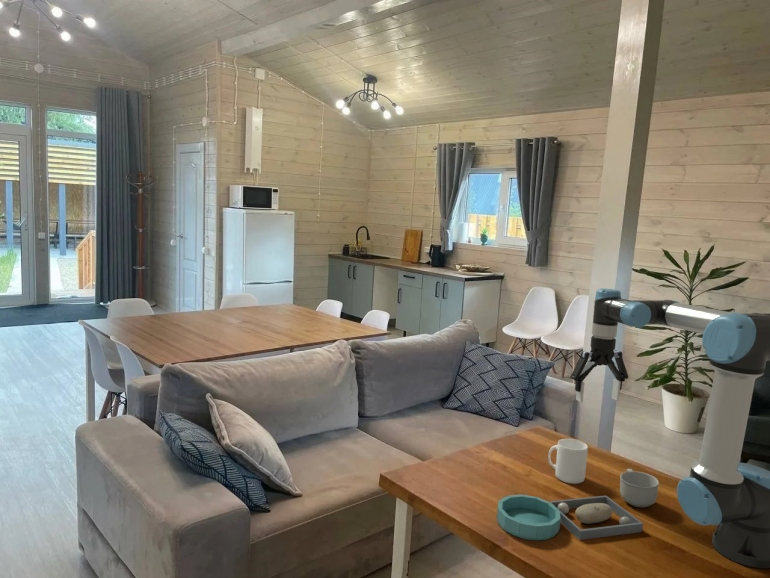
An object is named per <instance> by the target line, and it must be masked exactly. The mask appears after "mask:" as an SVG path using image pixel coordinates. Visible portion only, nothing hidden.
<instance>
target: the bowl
mask: <svg viewBox="0 0 770 578" xmlns="http://www.w3.org/2000/svg"><path fill="white" fill-rule="evenodd" d="M496 512H497V515H496V522H497V523H498V525H499V526H500V528H501V529H502V530H504V531H505V532H506V533H508V534H509V535H512V536H514V537H516V538H520V539H522V540H528V541H546V540H550V539H552V538H554V537H555V536H556V535H557V534H558V533H559V531H560V528H561V522H560V511H559V510H558V509H557V508H556V507H555V506H554V505H553V504H552V503H550V502H549V501H548V500H545V499H542V498H541V497H538V496H533V495H526V494H512V495H511V494H510V495H507V496H505V497H502V498H500V499H499V500H498V504H497V511H496Z"/></svg>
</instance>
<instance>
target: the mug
mask: <svg viewBox="0 0 770 578" xmlns="http://www.w3.org/2000/svg"><path fill="white" fill-rule="evenodd" d="M554 450H557V451H556V459H555V464H554V463H553V461H552V459H551V454H552V452H553V451H554ZM588 451H589V445H588V444H587V443H585V441H582V440H578V439H573V438H562V439H558V441H557V444H555V445H553V446H551V447H550V449H549V450H548V456H547V458H548V460H547V461H548V463H549V465H550V467H552V468H553V469H554V470H555V473H554V474H555V475H554V476H555V477H556V478H557V479H558V480H559V481H561V482H564V483H566V484H569V485H571V484H572V485H577V484H578V485H579V484H581V483H583V482H584V481H585V480H586V479H585V477H586V469H587V463H588V462H587V460H588Z"/></svg>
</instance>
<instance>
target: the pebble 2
mask: <svg viewBox="0 0 770 578" xmlns="http://www.w3.org/2000/svg"><path fill="white" fill-rule="evenodd" d="M618 521H619V522H618V523H619V525H623V524H631V520H630V519H629V518H628V517H626V516H623V517H620V518H619V520H618Z"/></svg>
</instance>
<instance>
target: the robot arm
mask: <svg viewBox="0 0 770 578" xmlns="http://www.w3.org/2000/svg"><path fill="white" fill-rule="evenodd" d="M621 293H622V292H621V291H620V290H618V289H614V288H598V289H597V290H596V291H595V296H594V305H593V308H594V309H593V319H592V329H591V335H592V336H591V338H590V351H586V350H582V351H581V354H580V358H579V359H578V362H577V363H576V365H575V367H574V369H573V370H572V373H571V375H570V379H572V380H573V381H575V384H574V386H575V387H574V390H575V392H576V395H575V400H576V401H577V402H580V403H583V400H584V394H585V393H584V391H585V381H584V380H585V379H586V377H588V376H589V374H590V373H591V371H593V370H594V368H596V367H598V366H607V367H608V368H609V370H610V371H611V373H612V375H613V376H614V378H613V379H612V380H613V382H612V390H611V399H612V400H614V401H619V400H620V391H621V390H622V387H623V382H626V380H628V379H629V374H628V371H627V368H626V365H625V362H624V359H623V352H622V351H620V350H619V349H616V343H617V340H616V338H617V335H618V325H619V324H622V325H626V326H628V327H633V328H638V329H641V328H643V327H645V326H647V325H649V326H650V325H651V326H652V325H654V326H655V325H661V326H666V327H671V328H675V329H678V330H679V329H680V330H683V331H684V330H685V331H689V332H693V333H697V334H701V335H702V339H701V340H702V344H701V345H702V348H703V349H704V352H705V355H706V356H707V357H708V359H709V362H708V363H709V366H710V367H711V368H712V370H714V374H713V381H712V385H711V386H712V387H711V391H710V396H709V403H708V409H707V413H706V419H705V425H704V432H703V437H702V443H701V449H700V455H699V459H698V460H695V461H693V462H692V463H691V467H690V473H689V476H686V477H683V478H682V479H681V480H679V481H678V484H677V486H676V495H677V500H678V503H679V505H680V506H681V507H680V508H682V511H683V512H684V513H685V515H686V516H687V517H688V518H689V519H690V520H691V521H692V522H694V523H695V524H697V525H701V526H710V525H711V526H717V527H716V528H715V530H714V532H713V535H712V538H711V539H712V540H711V543H712V544H711V545H712V547H713V548H714V549H715V551H717V552H718V553H719V554H720V555H722V556H723V557H725V558H727V559H728V560H730V561H732V562H735V563H737V564H741V565H743V566H747V567H750V568H756V569H770V470H768V469H766V468H764V467H763V468H762V467H760V466H757V465H754V464H751V463H745V462H741V455H742V450H743V445H744V441H745V440H744V439H745V436H746V431H747V425H748V419H749V414H750V408H751V403H752V399H753V393H754V387H755V381H756V379H757V378H760V377H762V376H764V374H765V370H766V365H767V362H770V313H765V312H764V313H759V312H751V313H738V312H732V311H727V310H726V311H725V310H720V309H713V308H708V307H702V306H698V305H691V304H685V303H681V302H679V301H677V300H672V299H664V300H662V299H661V300H659V299H658V300H650V299H649V300H646V299H644V300H643V299H642V300H641V299H638V300H633V299H632V300H631V299H625V298H622V294H621ZM613 359H614V360H615V362H614V360H613Z"/></svg>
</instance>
